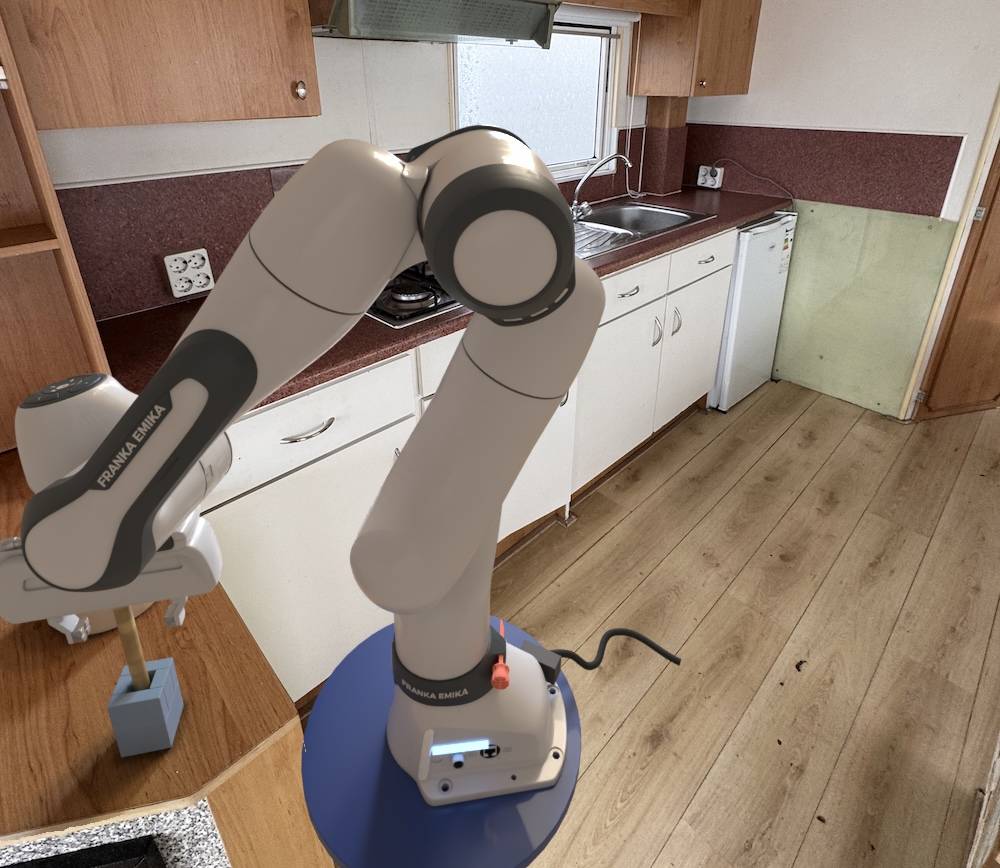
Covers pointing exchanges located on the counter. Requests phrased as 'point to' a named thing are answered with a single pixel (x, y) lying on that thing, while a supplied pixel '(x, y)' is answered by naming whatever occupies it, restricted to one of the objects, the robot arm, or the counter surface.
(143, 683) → the stirring stick
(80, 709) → the counter surface
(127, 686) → the holder
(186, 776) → the counter surface
